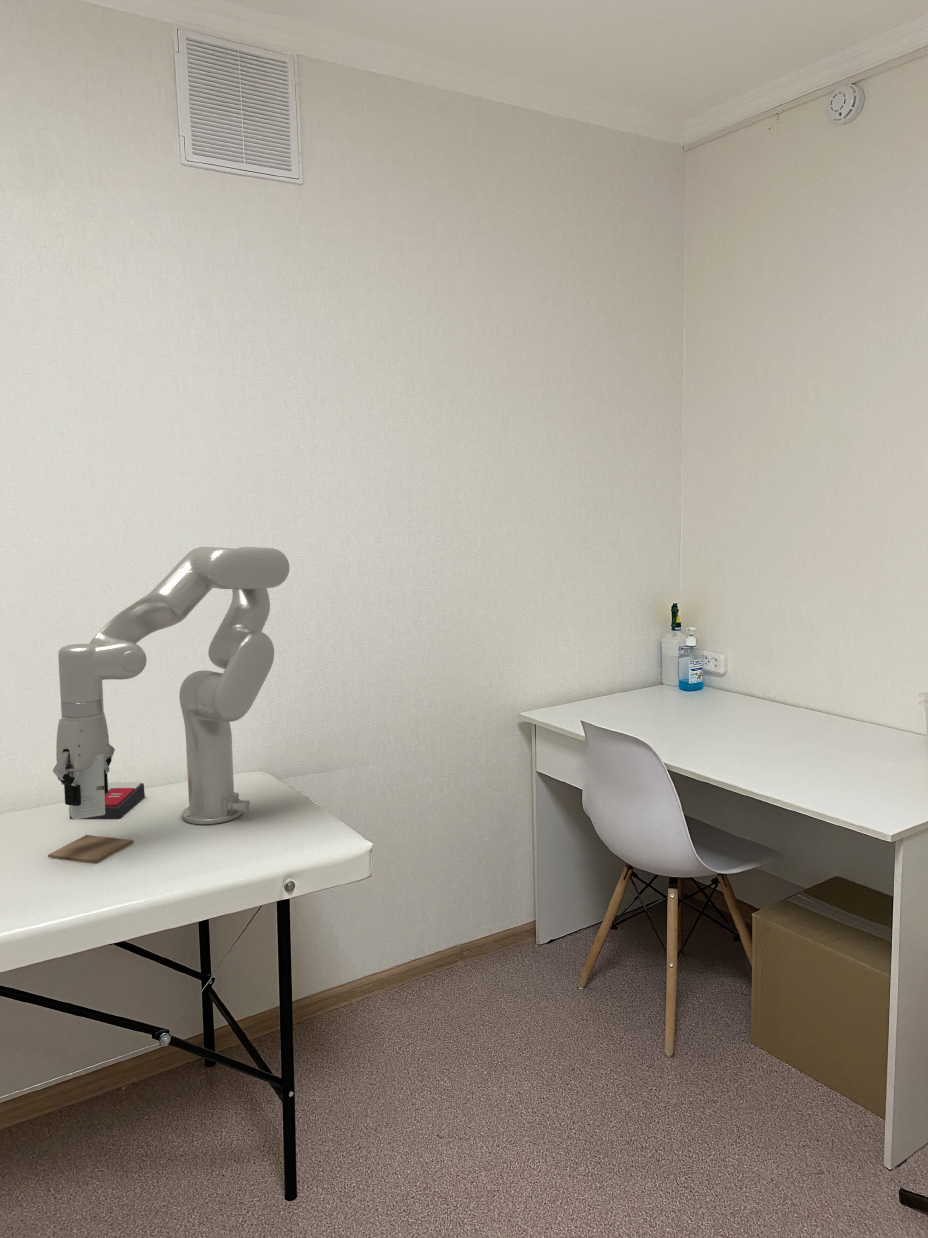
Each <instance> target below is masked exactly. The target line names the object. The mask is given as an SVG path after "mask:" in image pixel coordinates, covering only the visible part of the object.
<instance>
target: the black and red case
mask: <svg viewBox="0 0 928 1238" xmlns="http://www.w3.org/2000/svg"><path fill="white" fill-rule="evenodd" d="M145 798H146V794H145V784H144V783H143V782H138V781H136V782H131V781H129V782H128V781H127V782H123V781H121V782H115V781H114V782H110V781H108V793H106V794H105V815H101V816H95V817H88V818H82V819H81V820H120V819H122V817H124V816H125V815H126V814H127V813H129V812H130V811H131V810H132V808H134V807H135V806H136V805H137V804H139V803H141V801H143V800H144V799H145ZM68 815H69V820H73V819H72V817H71V815H70V814H68Z"/></svg>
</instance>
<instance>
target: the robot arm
mask: <svg viewBox="0 0 928 1238" xmlns="http://www.w3.org/2000/svg"><path fill="white" fill-rule="evenodd" d="M289 574H290V562H289V559H288V557H287V556H286V554H285V553H284V552H282V551H280V550H279V549H276V548H272V547H258V546H241V547H237V548H236V547H235V548H231V547H213V546H199V547H196V548H193V549H192V550H191V551H189V552H188V553H187V554H186V555H185V556H183V558H182V559H181V560H180V561H179V562H178V563H177V564H176V565H175V566H174V567H173V568H172V569H171V571H170V572H169V573H168V574H166V575H165V577H163V579H162V580H161V581H160V582H159V583H158V584H157V585H156V586H155V587H154V588H153V589H152V590H151V591H150V592H149V593H148V594H146V595H145V596H143V597H141V598H140V599H138V600H136V601H135V602H134V603H131V605H129V606H128V607H126V608H125V609H122V610H121V611H120V612H119V613H117V614H116V615H115V616H114V617H112V618H111V619H110V620H109V621H108V622H107V623H106V624H105V625H104V626H103V627H102V628H101V629H100V630H99V631H98V633H96V634H95V635H94V637H92V639H91V640H90V641H89V643H74V644H68V645H65V646H62V647H61V648H60V649H59V650H58V656H57V657H58V676H59V694H60V714H61V718H59V720H58V724H57V731H56V732H57V733H56V747H55V749H56V764H55V765H54V767H53V769H52V773H54V775H55V776H56V777H57V779H58V781H60V782H61V785H62V786H64V787H63V789H64V804H65V805H67V806H69V805H73V806H79V805H81V789H80V785H77V784H78V780H79V777H80V773H81V771H82V770H84V769H87V768H89V767H91V766H93V762H94V757H95V755H97V754H99V753H102V754H103V755H104V788H105V794H106V793H108V782H109V781H108V780H109V779H108V773H109V772H110V765H111V763H112V760H113V759H112V758H113V756H114V753H115V747H113V746H112V745H111V744H110V739H109V738H110V736H109V730H108V723H107V719H106V714H105V710H104V691H103V690H104V689H103V688H104V687H103V681H104V680H119V681H120V680H129V679H133V678H136V677H137V676H139V675H140V674H142V672H143V671H144V670H145V668H146V665H147V655H146V652H145V650H144V649H143V648H142V647H141V646H140V645H138V644H137V643H139V642H140V641H141V640H142V639H144V638H145V637H148V636H149V635H151V634H152V633H155V632H158V631H160V630H163V629H167V628H169V627H172V626H174V625H177V624H180V623H181V622H183V621H184V620H185V619H186V618H187V617H188V615H189V614H191V612H192V611H193V610H194V609H195V607H197V605H198V604H199V603H200V602H201V601H202V600H203V598H205V596H207V595H208V593H209V592H210V591H211V590H213V589H218V590H232V597H231V602H230V605H229V607H228V610H227V611H226V614H225V615H224V617H223V619H222V620H221V623H220V624H219V627H218V628H217V631H215V634H214V636H213V637H212V640H211V641H210V644H209V646H208V652H207V653H208V658H209V660H210V661H211V663H212V664H213V665H214V666H216V667H217V668H220V669H222V670H223V672H222V673H221V672H216V671H213V670H197V671H194V672H192V673H190V674H189V675H187V676H186V677H185V678H184V680H183V681H182V683H181V685H180V688H179V696H178V697H179V704H180V709H181V713H182V718H183V723H184V732H185V743H186V744H185V748H186V749H185V750H186V752H185V753H186V769H187V789H188V806H187V807H186V808H184V809H183V810H182V812H181V818H182V820H183V821H184V822H186V823H189V824H194V825H215V824H222V823H226V822H229V821H233V820H235V819H236V818H238V817H240V816H241V815H242V814H243V813H248V812H249V810H250V802H251V801H250V800H247V799H246V800H245V799H240V797H239V796H240V794H239V792H235V784H234V781H235V780H234V763H233V762H234V761H233V734H232V728H231V727H232V726H231V722H233V723H234V722H236V721H239V720H241V719H242V718H244V716H245V715H246V714H248V712H249V710H250V709H251V708H252V706H253V704H254V702H255V700H256V698H257V696H258V695H259V693H260V691H261V689H262V687H263V685H264V683H265V681H266V679H267V677H268V675H269V673H270V671H271V669H272V667H273V663H274V660H275V659H274V658H275V646H274V643H273V641H272V639H271V638H270V637H269V635H268V634H266V633H265V632H263V630H264V627H265V625H266V622H267V621H268V619H269V618H268V617H269V616H270V611H271V602H270V601H271V600H270V596H269V591H268V589H272V588H276V587H279V586H280V585H282V584H284V582H285V581H286V580H287V578H288V577H289ZM71 764H72V765H74V768H71ZM71 772H74V774H73V778H72V777H71V776H70V773H71Z"/></svg>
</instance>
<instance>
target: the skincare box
mask: <svg viewBox="0 0 928 1238" xmlns="http://www.w3.org/2000/svg"><path fill="white" fill-rule="evenodd" d="M71 768H74V765H72V764H71ZM73 774H74V772H71V773H70V776H71V777H72V778H73ZM77 785H80V789H81V805H79V806H73V805H68V813H69V814H70V815H71V817H72V819H71V820H83V819H82V818H88V817H95V816H101V815H105V788H104V755H103V754H102V753H99V754H97V755H95V757H94V762H93V766H91V767H89V768H87V769H84V770H82V771H81V773H80V777H79V780H78V784H77ZM69 814H68V815H69ZM70 815H69V816H70Z"/></svg>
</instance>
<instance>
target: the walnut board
mask: <svg viewBox="0 0 928 1238" xmlns="http://www.w3.org/2000/svg"><path fill="white" fill-rule="evenodd" d="M133 843H134V840H133V839H128V838H117V837H110V836H101V835H92V834H84V836H82V837H80V838H78V839H75V840H74V841H72V842H70V843H68V844H66V845H64V846H62V847H60V848H58V849H56V850H55V851H52V852H50V853H49V854H47V858H48V857H51V858H50V859H55V858H57V859H56V860H63V859H66V860H65V861H71V860H73V862H80V863H89V864H98V863H100V862H102V861H103V860H106V859H107V858H109V857H110V856H112V855H114V854H116V853H118V852H119V851H121V850H123V849H125V848H127V847H128V846H131V845H132V844H133Z"/></svg>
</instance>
